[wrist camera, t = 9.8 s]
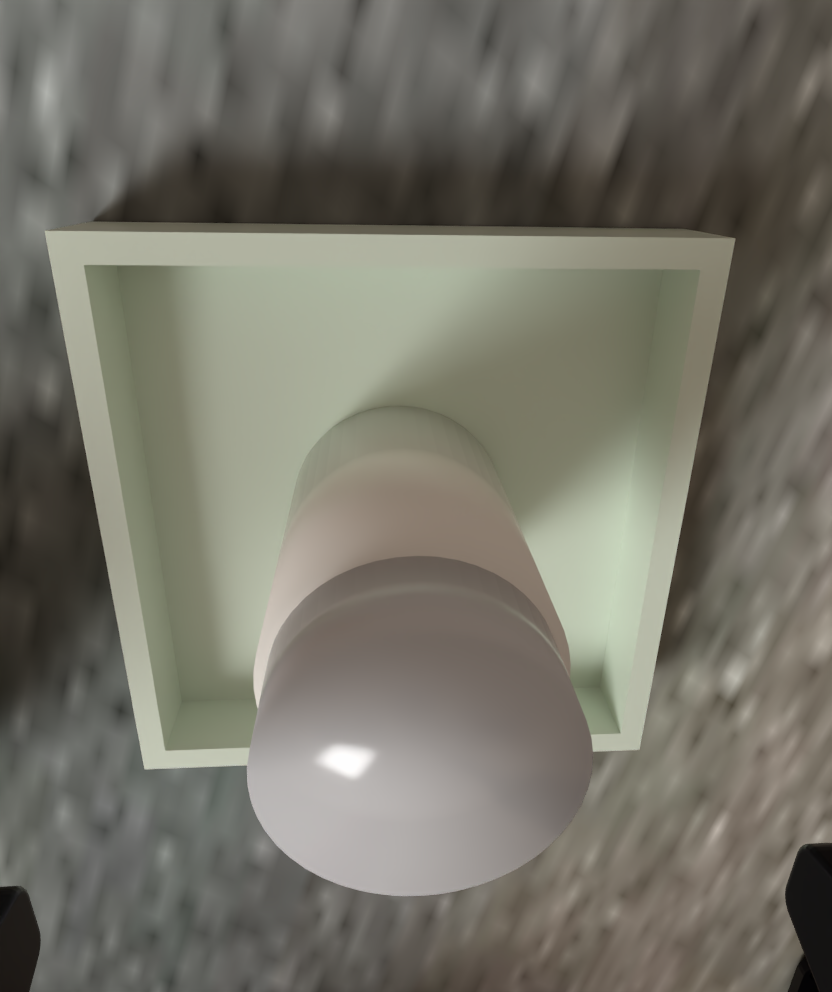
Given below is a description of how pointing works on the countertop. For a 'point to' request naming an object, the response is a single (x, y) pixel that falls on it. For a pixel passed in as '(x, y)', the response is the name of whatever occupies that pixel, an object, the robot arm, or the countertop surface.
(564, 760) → the ceramic shaker
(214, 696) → the sage tray
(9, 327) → the countertop surface
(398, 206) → the countertop surface
